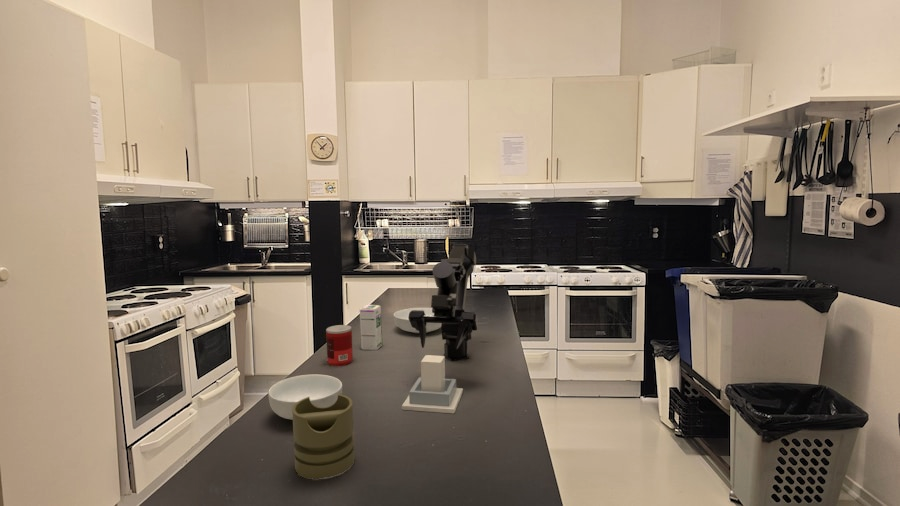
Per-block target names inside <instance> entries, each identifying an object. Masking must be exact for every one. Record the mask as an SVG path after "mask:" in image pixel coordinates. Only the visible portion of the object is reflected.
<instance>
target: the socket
mask: <svg viewBox="0 0 900 506" xmlns="http://www.w3.org/2000/svg"><path fill="white" fill-rule="evenodd" d="M408 393H409V394H408V396H407V397H406V399H405V401H404V402H403V403H402V405H401V410H403V411H416V412H430V413H443V414H455V413H456V411H457V408H458V405H459V403H460V400H461V399H462V396H463V393H464V388H462V387H460V388H459V387H457V379H456V378H445V393H443V392H428V391H421V376H419V377H418V378H417V380H416V381H415V382H414V384H413V385H412V387H411V389H410V390H409V392H408Z"/></svg>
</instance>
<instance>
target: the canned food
mask: <svg viewBox="0 0 900 506" xmlns="http://www.w3.org/2000/svg"><path fill="white" fill-rule="evenodd" d="M352 329H353V328H352V326H351V325H348V324H347V325H346V324H338V325H332V326H328V327H327V328H326V329H325V333H326V334H325V339H326V356H327V357H326V359H327V363H328V365H329V366H332V367H333V366H334V367H340V366H341V367H342V366H346V364H347V365H349V364H351V363H352V362H353V359H354V358H353V357H354V356H353V355H354V354H353V331H352Z"/></svg>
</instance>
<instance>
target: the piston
mask: <svg viewBox="0 0 900 506" xmlns="http://www.w3.org/2000/svg"><path fill="white" fill-rule="evenodd" d="M353 403H354V402H353V399H351V398H350V397H349V396H347V395H344V394H342V395H341V394H338V398H337V400H336V402H335V403H334V404H332V405H330V406H328V407H318V406H315V405H314V404H312V402H311V401H310V398H309V397H307V398H304V399H302V400H300V401H298V402H297V403H296V404H295V405H294V406H293V408H292V417H293V420H292V431H293V432H292V434H293V436H292V437H293V441H294V443H293V452H294V470H296V471H295V473H296V472H297V473H298V474H299V475H300V476H302V477H305V478H311V479H312V478H313V479H319V478H324V477H330V476H334V475H337V474H339V473H342V472H344V471H345V470H347V469H348V468H349V467H350V466H351V465H352V464H353V462H354V459H355V439H354V438H355V436H354V408H353V405H354V404H353ZM354 463H355V462H354ZM297 473H296V474H297ZM298 474H297V475H298ZM299 475H298V476H299ZM300 476H299V477H300ZM302 477H301V478H302Z"/></svg>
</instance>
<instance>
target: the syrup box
mask: <svg viewBox="0 0 900 506" xmlns="http://www.w3.org/2000/svg"><path fill="white" fill-rule="evenodd" d="M381 308H382V307H381V305H379V304H365V305H364V306H363V307H361V308H359V325H360V341H361V342H360V345H361V346H360V347H361V350H366V351H378V349H379V348H381V347H382V346H383V345H384V344H383V329H382V328H383V327H382V309H381Z"/></svg>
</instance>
